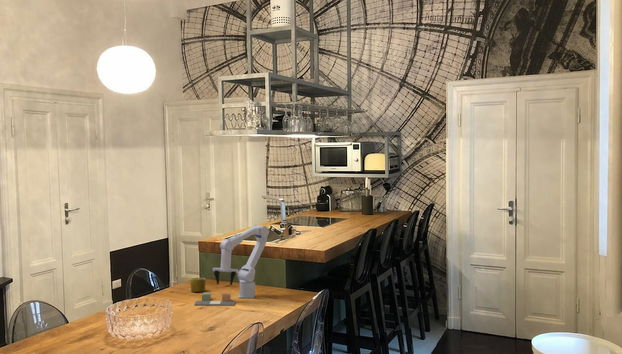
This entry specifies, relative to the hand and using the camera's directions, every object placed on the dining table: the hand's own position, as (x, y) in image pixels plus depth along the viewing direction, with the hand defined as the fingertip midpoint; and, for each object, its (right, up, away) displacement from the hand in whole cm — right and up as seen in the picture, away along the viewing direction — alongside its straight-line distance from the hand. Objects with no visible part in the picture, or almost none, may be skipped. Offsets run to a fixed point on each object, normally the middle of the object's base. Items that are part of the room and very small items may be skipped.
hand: (224, 284), depth 295 cm
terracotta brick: (+1, -10, 0) cm, 10 cm away
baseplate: (-4, -9, -7) cm, 12 cm away
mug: (-20, -9, +23) cm, 31 cm away
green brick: (-11, -9, 0) cm, 14 cm away
